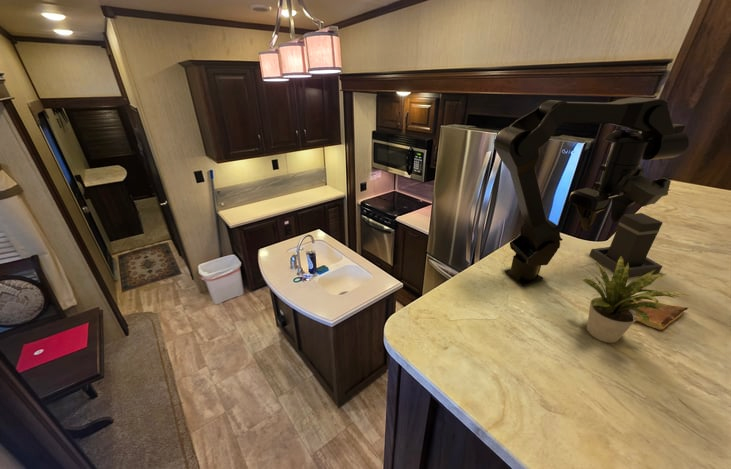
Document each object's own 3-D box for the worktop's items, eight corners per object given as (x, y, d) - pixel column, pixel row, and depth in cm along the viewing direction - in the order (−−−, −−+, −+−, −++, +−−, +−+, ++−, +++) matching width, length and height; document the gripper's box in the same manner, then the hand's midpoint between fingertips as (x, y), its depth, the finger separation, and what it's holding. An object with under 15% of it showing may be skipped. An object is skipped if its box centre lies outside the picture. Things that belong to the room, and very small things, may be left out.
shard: (685, 312, 61) (689, 306, 60) (705, 340, 55) (710, 333, 54) (621, 302, 65) (624, 296, 64) (634, 326, 59) (637, 320, 58)
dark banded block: (622, 269, 74) (642, 224, 68) (605, 257, 79) (622, 214, 73) (641, 267, 74) (663, 222, 68) (622, 255, 79) (641, 212, 73)
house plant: (617, 380, 49) (658, 309, 41) (544, 325, 61) (565, 261, 53) (665, 348, 54) (709, 279, 46) (589, 303, 65) (614, 241, 57)
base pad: (622, 278, 72) (625, 270, 71) (589, 255, 81) (591, 248, 80) (659, 273, 73) (662, 266, 72) (622, 251, 82) (625, 244, 81)
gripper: (633, 179, 53) (605, 251, 60) (699, 163, 58) (666, 231, 65) (576, 165, 62) (558, 228, 70) (637, 152, 67) (614, 213, 74)
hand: (600, 225), depth 70 cm, fingers open, 9 cm apart
